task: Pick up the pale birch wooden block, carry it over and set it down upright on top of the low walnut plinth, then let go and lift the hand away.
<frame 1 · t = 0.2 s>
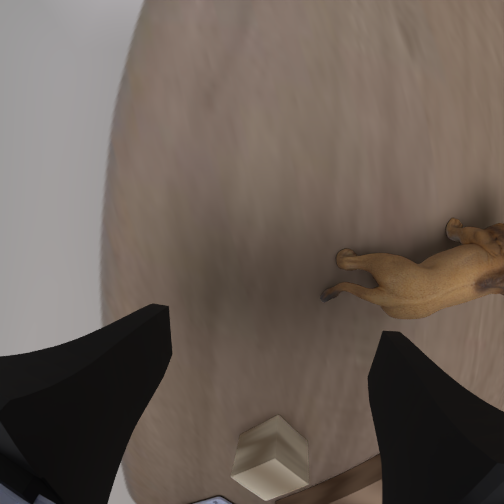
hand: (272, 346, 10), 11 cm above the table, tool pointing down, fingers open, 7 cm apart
birch block: (274, 438, 23), on the table
lion figurine: (423, 247, 19), on the table
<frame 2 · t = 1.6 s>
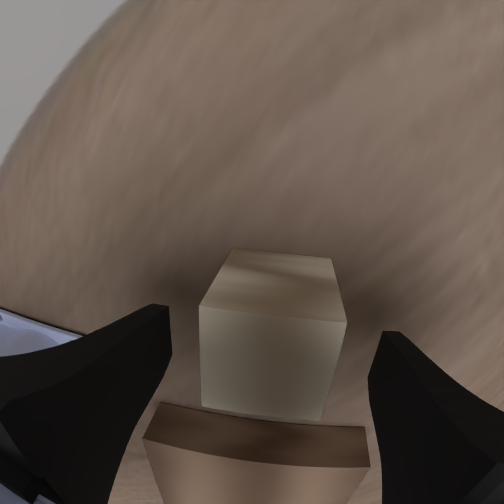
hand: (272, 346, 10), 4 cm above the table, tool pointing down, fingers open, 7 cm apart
birch block: (277, 296, 14), on the table
walnut plinth: (252, 483, 19), on the table
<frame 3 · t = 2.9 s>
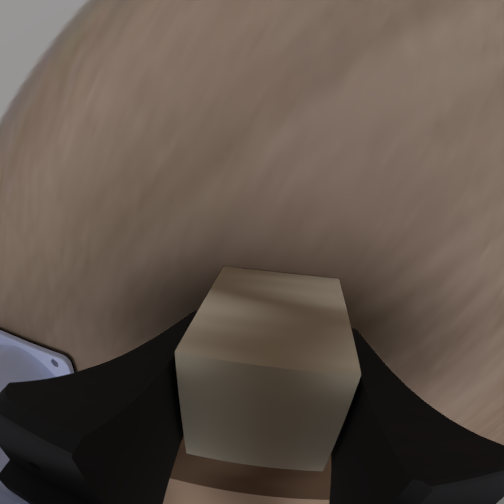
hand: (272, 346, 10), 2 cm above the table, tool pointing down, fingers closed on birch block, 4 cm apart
birch block: (275, 322, 12), on the table, touching gripper
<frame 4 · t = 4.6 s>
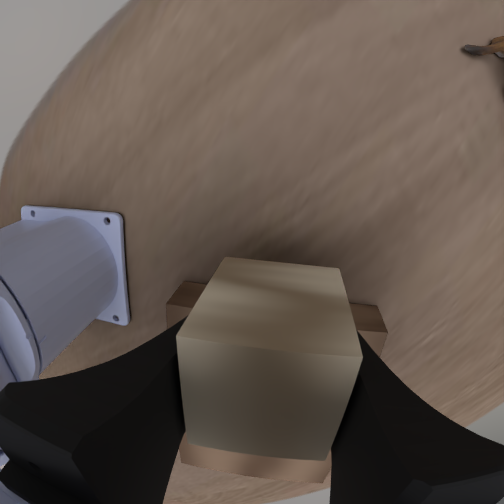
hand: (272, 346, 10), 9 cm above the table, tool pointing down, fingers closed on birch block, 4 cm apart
birch block: (276, 312, 12), point 7 cm above the table, touching gripper
walnut plinth: (266, 390, 22), on the table
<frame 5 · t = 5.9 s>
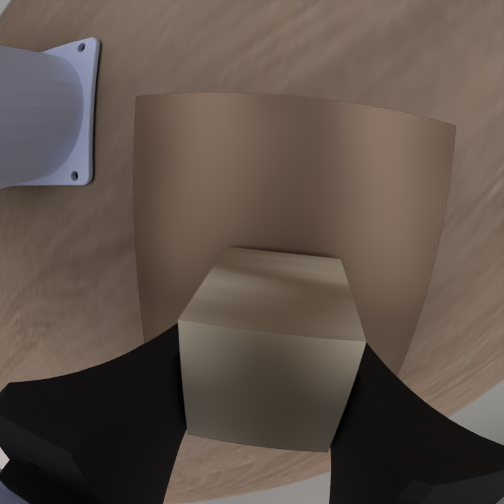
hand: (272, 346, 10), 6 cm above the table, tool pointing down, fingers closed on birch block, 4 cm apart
birch block: (278, 304, 12), point 4 cm above the table, touching gripper
walnut plinth: (282, 277, 16), on the table
when the fingers open (6 cm above the table, at t = 6.6 s): birch block stays where it is, resting on walnut plinth.
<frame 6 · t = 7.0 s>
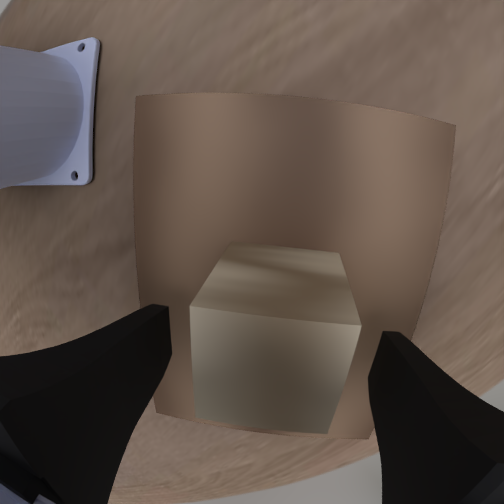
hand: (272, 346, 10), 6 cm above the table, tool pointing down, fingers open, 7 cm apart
birch block: (279, 295, 13), point 3 cm above the table, touching walnut plinth
walnut plinth: (282, 277, 16), on the table
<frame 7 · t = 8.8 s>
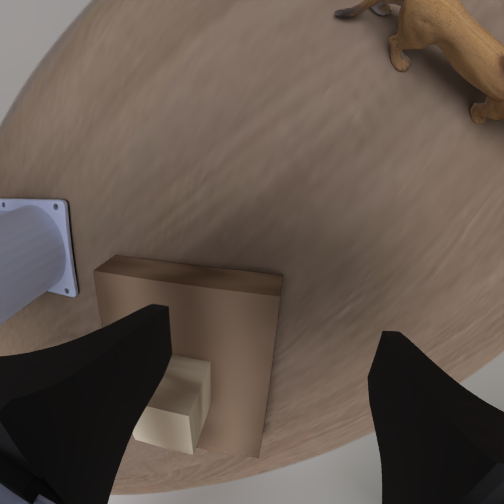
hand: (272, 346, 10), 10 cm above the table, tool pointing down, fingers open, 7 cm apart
birch block: (183, 378, 21), point 3 cm above the table, touching walnut plinth
walnut plinth: (194, 359, 24), on the table
lion figurine: (448, 66, 15), on the table
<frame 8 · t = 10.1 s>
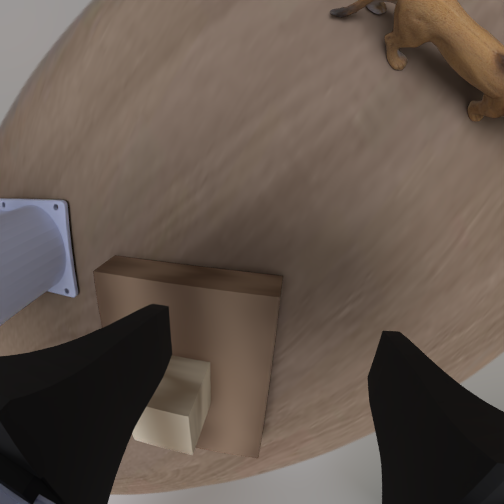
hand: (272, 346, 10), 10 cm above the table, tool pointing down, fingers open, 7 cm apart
birch block: (182, 378, 21), point 3 cm above the table, touching walnut plinth
walnut plinth: (194, 359, 24), on the table
lion figurine: (445, 64, 15), on the table
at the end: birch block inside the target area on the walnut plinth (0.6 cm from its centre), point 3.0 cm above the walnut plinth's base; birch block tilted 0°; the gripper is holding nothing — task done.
